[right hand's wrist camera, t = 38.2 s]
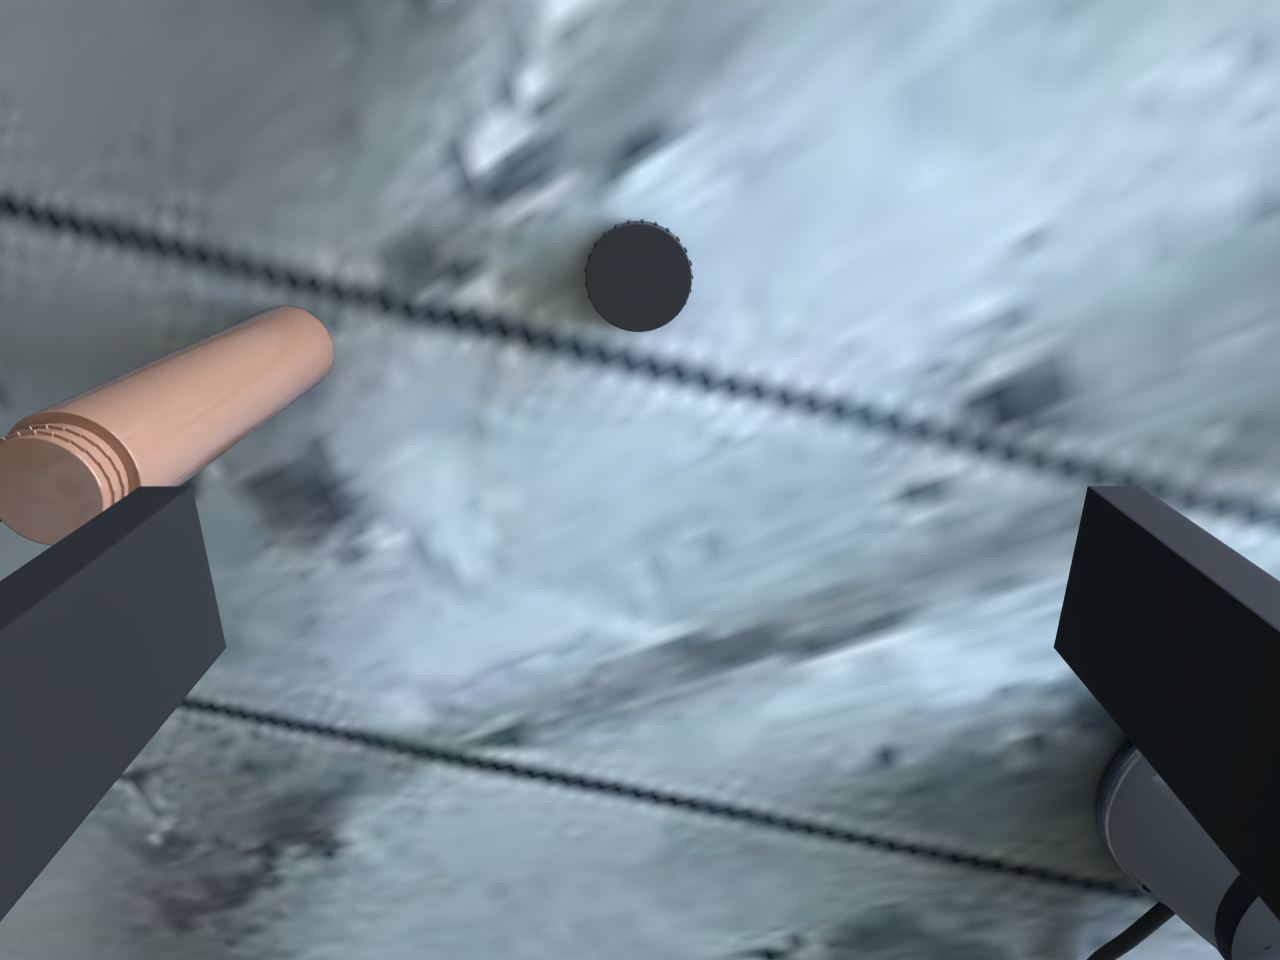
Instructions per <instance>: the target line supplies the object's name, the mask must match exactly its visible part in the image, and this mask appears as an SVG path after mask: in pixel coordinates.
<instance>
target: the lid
mask: <svg viewBox="0 0 1280 960" xmlns="http://www.w3.org/2000/svg"><path fill="white" fill-rule="evenodd" d="M679 241H680V240H679V237H678V236H677V237H675V236H674V235H673V234H672V233H671V232H670V231H669V229H668V228H666V229H665V228H663V227H661V226H659V225H657V222H654V223H651V222H645V221H643V219H641V221H633V222H630V220H628V222H627V223H623V224H621V225H617V224H616V225H615V226H614V228H613V229H611V230H610V231H608V232H607V233H606V232H604V233H603V237H602V238H601V239H600V240H599V241H598V243H597V242H595V244H594V246H595V247H594V249H593V251H592V253H591V254H589V256H588V259H589V261H588V264H587V267H586V268H585V272H586V282H585V286H586V287H587V291H588V295H589V296H588V297H589V299H590V300H591V302H592V304H593V306H594V308H595V310H597V312H598V313H599V314H600V315H601V316H602V317H603V318H604V319H605V320H606V321H608V322H609V323H611V324H612V325H614V326H616V327H618V328H621V329H624V330H627V331H633V332H644V331H650V330H654V329H657V328H659V327H662V326H664V325H665V324H667V323H668V322H670V321H671V320H673V319H674V318H675V317H676V316H677V315H678V314H679V312H680V311H681V310H682V308H683V307H684V305H686V301H687V299H688V297H689V293H691V284H692V279H693V275H692V272H691V265H692V263H691V261H690V260H689V259H688V256H687V254H686V253H687V250H686V248H683V246H682V245H681V243H680V242H679Z"/></svg>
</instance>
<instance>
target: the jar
mask: <svg viewBox="0 0 1280 960" xmlns="http://www.w3.org/2000/svg"><path fill="white" fill-rule="evenodd" d="M333 357H334V350H333V344H332V341H331V338H330V336H329V334H328V332H327V330H326V329H325V327H324V326H323V324H322V323H321V322H320V321H319V320H318V319H317V318H315V317H314V316H313V315H311V314H310V313H308V312H306V311H304V310H302V309H299V308H296V307H290V306H279V307H274V308H271V309H269V310H266V311H264V312H262V313H259V314H257V315H255V316H253V317H250V318H248V319H246V320H244V321H241V322H239V323H237V324H235V325H232V326H230V327H228V328H226V329H223V330H221V331H219V332H217V333H214V334H212V335H210V336H208V337H205V338H203V339H201V340H198V341H196V342H194V343H192V344H189V345H187V346H185V347H183V348H180V349H178V350H176V351H174V352H171V353H169V354H167V355H165V356H162V357H160V358H158V359H156V360H153V361H151V362H149V363H146V364H144V365H142V366H140V367H137V368H135V369H133V370H131V371H128V372H126V373H124V374H122V375H119V376H117V377H115V378H113V379H110V380H108V381H106V382H104V383H101V384H99V385H97V386H95V387H92V388H90V389H88V390H85V391H83V392H81V393H79V394H76V395H74V396H72V397H70V398H67V399H65V400H63V401H61V402H58V403H56V404H54V405H52V406H49V407H47V408H45V409H43V410H40V411H38V412H36V413H33V414H31V415H29V416H27V417H25V418H23V419H22V420H21V421H19V422H18V423H17V424H16V425H15V426H14V427H13V428H12V429H11V431H10V432H9V433H8V435H7V436H5V437H3V438H1V439H0V519H1V520H2V521H3V522H4V523H5V524H6V525H7V526H8V527H9V528H10V529H12V530H13V531H15V532H16V533H18V534H19V535H21V536H23V537H25V538H27V539H29V540H32V541H34V542H38V543H41V544H46V545H54V544H56V543H57V542H59V541H60V540H62V539H63V538H65V537H66V536H68V535H69V534H71V533H72V532H74V531H75V530H76V529H78V528H79V527H81V526H82V525H84V524H85V523H87V522H88V521H90V520H91V519H93V518H94V517H96V516H97V515H98V514H100V513H101V512H103V511H104V510H106V509H107V508H109V507H110V506H112V505H113V504H115V503H116V502H118V501H119V500H120V499H122V498H123V497H125V496H126V495H128V494H129V493H131V492H132V491H134V490H135V489H137V488H138V487H140V486H180V485H182V484H183V483H184V482H186V481H187V480H188V479H190V478H191V477H193V476H194V475H195V474H197V473H198V472H199V471H201V470H202V469H203V468H205V467H206V466H207V465H209V464H210V463H211V462H213V461H214V460H215V459H217V458H218V457H220V456H221V455H222V454H224V453H225V452H226V451H228V450H229V449H230V448H232V447H233V446H234V445H236V444H237V443H238V442H240V441H241V440H242V439H244V438H245V437H247V436H248V435H249V434H251V433H252V432H253V431H255V430H256V429H257V428H259V427H260V426H261V425H263V424H264V423H265V422H267V421H268V420H270V419H271V418H272V417H274V416H275V415H276V414H278V413H279V412H280V411H282V410H283V409H284V408H286V407H287V406H288V405H290V404H291V403H292V402H294V401H295V400H297V399H298V398H299V397H301V396H302V395H303V394H305V393H306V392H307V391H309V390H310V389H311V388H313V387H314V386H315V385H317V384H318V383H319V382H321V381H322V380H323V379H324V378H325V377H326V376H327V374H328V373H329V371H330V369H331V367H332V363H333Z"/></svg>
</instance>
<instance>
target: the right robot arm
mask: <svg viewBox="0 0 1280 960" xmlns="http://www.w3.org/2000/svg"><path fill="white" fill-rule="evenodd" d="M225 648H226V644H225V639H224V635H223V630H222V625H221V620H220V616H219V611H218V606H217V601H216V597H215V592H214V587H213V583H212V578H211V573H210V568H209V564H208V559H207V554H206V549H205V545H204V540H203V535H202V531H201V526H200V521H199V516H198V512H197V507H196V502H195V497H194V493H193V488H192V486H140V487H138V488H137V489H135V490H134V491H132V492H131V493H129V494H128V495H126V496H125V497H123V498H122V499H120V500H119V501H118V502H116V503H115V504H113V505H112V506H110V507H109V508H107V509H106V510H104V511H103V512H101V513H100V514H98V515H97V516H96V517H94V518H93V519H91V520H90V521H88V522H87V523H85V524H84V525H82V526H81V527H79V528H78V529H76V530H75V531H74V532H72V533H71V534H69V535H68V536H66V537H65V538H63V539H62V540H60V541H59V542H57V543H56V544H54V545H53V546H52V547H50V548H49V549H47V550H46V551H44V552H43V553H41V554H40V555H38V556H37V557H35V558H34V559H33V560H31V561H30V562H28V563H27V564H25V565H24V566H22V567H21V568H19V569H18V570H16V571H15V572H13V573H12V574H11V575H9V576H8V577H6V578H5V579H3V580H2V581H0V921H1V920H2V919H3V918H4V916H5V915H6V914H7V913H8V912H9V910H10V909H11V908H12V907H13V906H14V904H15V903H16V902H17V901H18V899H19V898H20V897H21V896H22V895H23V893H24V892H25V891H26V890H27V889H28V887H29V886H30V885H31V884H32V882H33V881H34V880H35V879H36V878H37V876H38V875H39V874H40V873H41V872H42V870H43V869H44V868H45V867H46V865H47V864H48V863H49V862H50V861H51V859H52V858H53V857H54V856H55V855H56V853H57V852H58V851H59V850H60V848H61V847H62V846H63V845H64V844H65V842H66V841H67V840H68V839H69V838H70V836H71V835H72V834H73V833H74V831H75V830H76V829H77V828H78V827H79V825H80V824H81V823H82V822H83V821H84V819H85V818H86V817H87V816H88V814H89V813H90V812H91V811H92V810H93V808H94V807H95V806H96V805H97V804H98V802H99V801H100V800H101V799H102V798H103V796H104V795H105V794H106V793H107V791H108V790H109V789H110V788H111V787H112V785H113V784H114V783H115V782H116V781H117V779H118V778H119V777H120V776H121V774H122V773H123V772H124V771H125V770H126V768H127V767H128V766H129V765H130V764H131V762H132V761H133V760H134V759H135V757H136V756H137V755H138V754H139V753H140V751H141V750H142V749H143V748H144V747H145V745H146V744H147V743H148V742H149V740H150V739H151V738H152V737H153V736H154V734H155V733H156V732H157V731H158V730H159V728H160V727H161V726H162V725H163V723H164V722H165V721H166V720H167V719H168V717H169V716H170V715H171V714H172V713H173V711H174V710H175V709H176V708H177V706H178V705H179V704H180V703H181V702H182V700H183V699H184V698H185V697H186V696H187V694H188V693H189V692H190V691H191V689H192V688H193V687H194V686H195V685H196V683H197V682H198V681H199V680H200V679H201V677H202V676H203V675H204V674H205V672H206V671H207V670H208V669H209V668H210V666H211V665H212V664H213V663H214V662H215V660H216V659H217V658H218V657H219V655H220V654H221V653H222V652H223V651H224V649H225ZM1054 648H1055V649H1056V651H1057V652H1058V653H1059V654H1060V655H1061V657H1062V658H1063V659H1064V660H1065V662H1066V663H1067V664H1068V665H1069V666H1070V668H1071V669H1072V670H1073V671H1074V672H1075V674H1076V675H1077V676H1078V677H1079V679H1080V680H1081V681H1082V682H1083V683H1084V685H1085V686H1086V687H1087V688H1088V689H1089V691H1090V692H1091V693H1092V694H1093V696H1094V697H1095V698H1096V699H1097V700H1098V702H1099V703H1100V704H1101V705H1102V706H1103V708H1104V709H1105V710H1106V711H1107V713H1108V714H1109V715H1110V716H1111V717H1112V719H1113V720H1114V721H1115V722H1116V723H1117V725H1118V726H1119V727H1120V728H1121V730H1122V731H1123V732H1124V733H1125V734H1126V736H1127V737H1128V738H1129V739H1130V740H1129V741H1128V742H1127V743H1126V744H1125V745H1124V747H1123V748H1122V749H1121V750H1120V752H1119V753H1118V754H1117V755H1116V757H1115V758H1114V760H1113V761H1112V763H1111V764H1110V766H1109V768H1108V770H1107V772H1106V774H1105V776H1104V778H1103V781H1102V783H1101V787H1100V790H1099V793H1098V799H1097V812H1096V813H1097V823H1098V827H1099V831H1100V834H1101V836H1102V839H1103V841H1104V843H1105V844H1106V846H1107V848H1108V849H1109V851H1110V852H1111V854H1112V855H1113V857H1114V858H1115V860H1116V861H1117V863H1118V864H1119V866H1120V867H1121V868H1122V870H1123V871H1124V872H1125V873H1126V874H1127V875H1128V876H1129V877H1130V878H1131V879H1132V881H1133V882H1134V883H1135V884H1136V885H1137V886H1138V887H1139V888H1140V889H1142V890H1143V891H1144V892H1146V893H1147V894H1148V895H1149V896H1151V897H1152V898H1154V899H1155V900H1157V901H1158V903H1157V904H1156V905H1155V906H1154V907H1152V908H1151V909H1150V910H1149V911H1148V912H1146V913H1145V914H1144V915H1143V916H1142V917H1141V918H1139V919H1138V920H1137V921H1136V922H1135V923H1133V924H1132V925H1131V926H1130V927H1129V928H1127V929H1126V930H1125V931H1124V932H1122V933H1121V934H1120V935H1118V936H1117V937H1116V938H1114V939H1113V940H1111V941H1110V942H1108V943H1107V944H1105V945H1104V946H1102V947H1101V948H1099V949H1098V950H1097V951H1095V952H1094V953H1093V954H1092V955H1091V956H1090V957H1089V958H1088V959H1087V960H1116V959H1118V958H1119V957H1121V956H1122V955H1124V954H1125V953H1127V952H1128V951H1130V950H1131V949H1133V948H1134V947H1135V946H1137V945H1138V944H1139V943H1141V942H1142V941H1143V940H1144V939H1146V938H1147V937H1148V936H1149V935H1150V934H1152V933H1153V932H1154V931H1155V930H1157V929H1158V928H1159V927H1160V926H1161V925H1163V924H1164V923H1165V922H1166V921H1168V920H1169V919H1170V918H1171V917H1172V916H1174V915H1175V914H1177V915H1178V916H1179V917H1180V918H1181V919H1182V920H1183V921H1184V922H1185V923H1186V924H1187V925H1189V926H1190V927H1191V928H1192V929H1193V930H1194V931H1195V932H1197V933H1198V934H1199V935H1200V936H1202V937H1203V938H1204V939H1205V940H1207V941H1208V942H1209V943H1210V944H1211V945H1213V946H1214V947H1215V948H1216V949H1217V950H1218V951H1219V953H1220V954H1221V955H1222V957H1223V958H1224V959H1225V960H1280V581H1278V580H1277V579H1275V578H1274V577H1272V576H1271V575H1269V574H1268V573H1267V572H1265V571H1264V570H1262V569H1261V568H1259V567H1258V566H1256V565H1255V564H1253V563H1252V562H1250V561H1249V560H1247V559H1246V558H1245V557H1243V556H1242V555H1240V554H1239V553H1237V552H1236V551H1234V550H1233V549H1231V548H1230V547H1228V546H1227V545H1225V544H1224V543H1223V542H1221V541H1220V540H1218V539H1217V538H1215V537H1214V536H1212V535H1211V534H1209V533H1208V532H1206V531H1205V530H1204V529H1202V528H1201V527H1199V526H1198V525H1196V524H1195V523H1193V522H1192V521H1190V520H1189V519H1187V518H1186V517H1184V516H1183V515H1182V514H1180V513H1179V512H1177V511H1176V510H1174V509H1173V508H1171V507H1170V506H1168V505H1167V504H1165V503H1164V502H1162V501H1161V500H1160V499H1158V498H1157V497H1155V496H1154V495H1152V494H1151V493H1149V492H1148V491H1146V490H1145V489H1143V488H1142V487H1140V486H1088V488H1087V493H1086V497H1085V502H1084V507H1083V512H1082V516H1081V521H1080V526H1079V531H1078V535H1077V540H1076V545H1075V549H1074V554H1073V559H1072V564H1071V568H1070V573H1069V578H1068V583H1067V587H1066V592H1065V597H1064V601H1063V606H1062V611H1061V616H1060V620H1059V625H1058V630H1057V635H1056V639H1055V644H1054Z"/></svg>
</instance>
